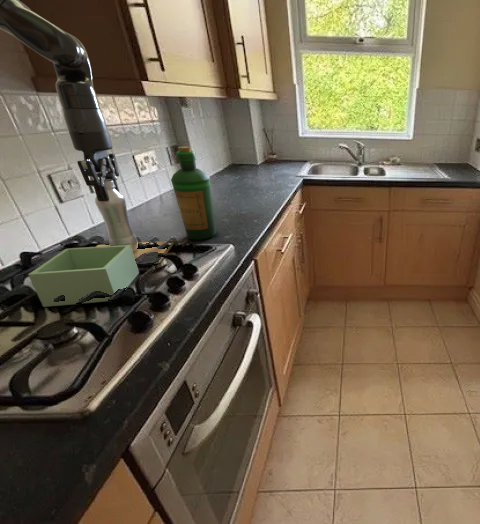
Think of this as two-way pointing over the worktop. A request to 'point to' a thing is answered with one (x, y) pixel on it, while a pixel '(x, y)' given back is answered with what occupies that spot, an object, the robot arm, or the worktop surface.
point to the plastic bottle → (116, 217)
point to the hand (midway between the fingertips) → (109, 197)
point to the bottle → (194, 196)
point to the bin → (84, 274)
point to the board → (149, 250)
